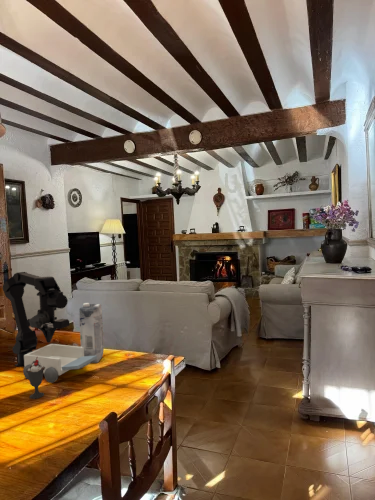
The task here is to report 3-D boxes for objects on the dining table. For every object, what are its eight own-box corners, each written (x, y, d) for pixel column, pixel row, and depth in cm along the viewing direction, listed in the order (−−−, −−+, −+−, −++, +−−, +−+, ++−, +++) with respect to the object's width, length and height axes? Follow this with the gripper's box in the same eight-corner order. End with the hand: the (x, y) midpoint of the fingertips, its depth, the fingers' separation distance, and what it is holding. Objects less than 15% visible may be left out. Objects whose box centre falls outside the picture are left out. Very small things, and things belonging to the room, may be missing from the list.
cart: (22, 378, 148) (21, 356, 148) (54, 363, 166) (53, 342, 165) (57, 384, 142) (56, 360, 142) (86, 367, 159) (85, 346, 159)
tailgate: (61, 367, 144) (77, 365, 141) (81, 356, 156) (96, 355, 153) (62, 372, 144) (78, 371, 141) (82, 361, 156) (97, 360, 153)
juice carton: (105, 355, 173) (102, 300, 172) (99, 363, 163) (96, 304, 162) (86, 356, 174) (84, 301, 172) (79, 364, 163) (77, 305, 162)
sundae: (39, 400, 128) (37, 359, 127) (23, 399, 129) (20, 358, 129) (50, 392, 134) (48, 353, 134) (34, 391, 136) (32, 352, 135)
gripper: (15, 309, 149) (17, 346, 150) (50, 311, 143) (52, 350, 143) (35, 304, 160) (37, 338, 161) (69, 306, 153) (71, 342, 154)
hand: (48, 342), depth 154 cm, fingers closed
